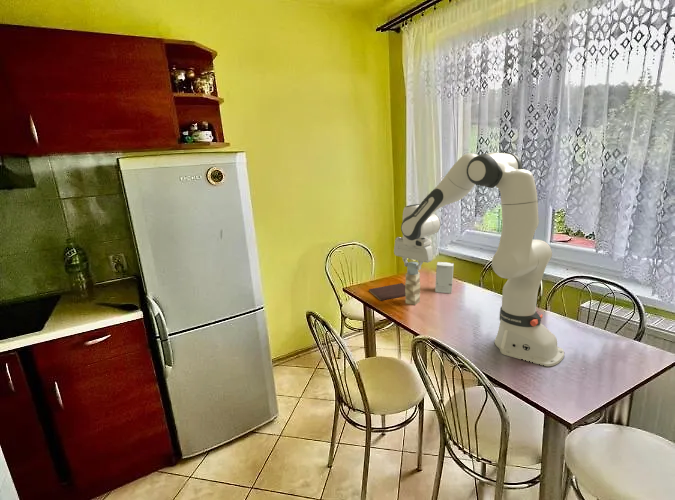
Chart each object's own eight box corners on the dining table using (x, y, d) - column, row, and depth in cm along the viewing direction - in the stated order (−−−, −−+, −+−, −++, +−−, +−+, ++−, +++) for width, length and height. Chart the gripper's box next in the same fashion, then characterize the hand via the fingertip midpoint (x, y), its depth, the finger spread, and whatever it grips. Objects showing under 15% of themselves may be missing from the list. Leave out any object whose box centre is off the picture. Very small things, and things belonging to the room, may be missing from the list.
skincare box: (435, 292, 189) (435, 264, 185) (436, 288, 194) (436, 261, 190) (452, 293, 186) (453, 265, 182) (453, 289, 191) (453, 262, 187)
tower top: (419, 282, 177) (419, 272, 175) (415, 285, 173) (415, 275, 171) (409, 280, 179) (409, 270, 178) (405, 283, 175) (405, 274, 174)
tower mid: (420, 292, 177) (420, 283, 175) (413, 295, 174) (413, 285, 173) (412, 290, 181) (412, 280, 179) (405, 292, 178) (405, 283, 177)
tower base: (419, 301, 179) (419, 292, 178) (414, 305, 175) (414, 295, 174) (410, 299, 182) (410, 290, 181) (405, 303, 178) (405, 293, 177)
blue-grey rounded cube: (420, 273, 174) (420, 262, 173) (413, 275, 171) (413, 265, 170) (411, 270, 178) (411, 260, 177) (405, 273, 175) (405, 263, 174)
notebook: (368, 291, 196) (368, 288, 196) (401, 285, 202) (401, 282, 201) (381, 302, 182) (380, 298, 182) (416, 295, 188) (416, 291, 188)
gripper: (390, 237, 176) (391, 265, 180) (426, 243, 161) (426, 273, 165) (399, 234, 180) (399, 261, 184) (435, 240, 165) (434, 270, 168)
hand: (412, 267), depth 174 cm, fingers open, 5 cm apart
